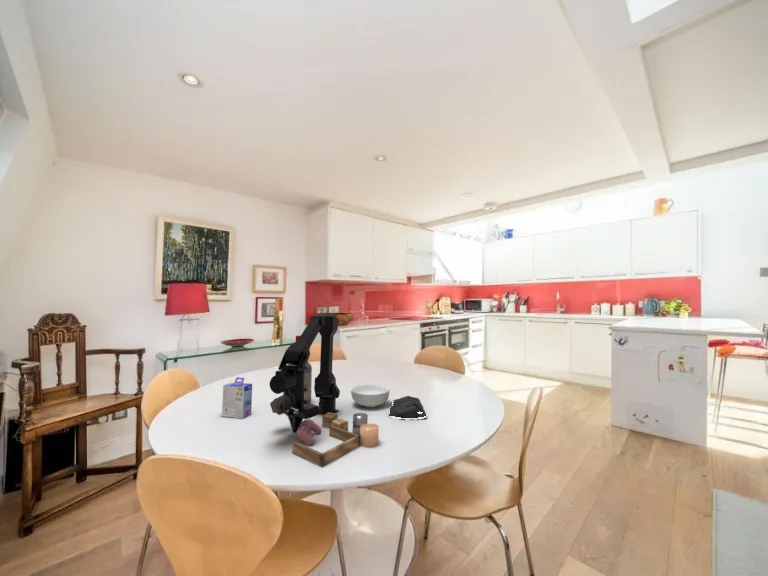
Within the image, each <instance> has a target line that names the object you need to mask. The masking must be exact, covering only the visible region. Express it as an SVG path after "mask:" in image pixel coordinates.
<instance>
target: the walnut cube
mask: <svg viewBox="0 0 768 576" xmlns="http://www.w3.org/2000/svg"><path fill="white" fill-rule="evenodd" d="M338 415H339V414H338V413H337V412H335V413H330V412H328V413H326V414H325V415H323V414H322V423H321V424H322V425H321V427H322V428H325V429H326V428H327V429H329V427H330V426H332V421H333V420H336V419H339V417H338Z"/></svg>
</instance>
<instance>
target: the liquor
mask: <svg viewBox="0 0 768 576" xmlns="http://www.w3.org/2000/svg"><path fill="white" fill-rule="evenodd" d="M300 336H301V335H295V342H297V341H298V339H299V338H300ZM292 366H297V365H292ZM305 366H307V368H308V369H307V370H305V384H304V387H305V388H307V391H305V392H304V399H305V400H307V403H306V404H304V405H309V404H312V381H313V380H312V376H313V374H312V373H313V372H312V371H313V370H312V369H313V367H312V365H311V363H310V362H309V360H308V361H307V363H306V364H305Z"/></svg>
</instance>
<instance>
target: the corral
mask: <svg viewBox="0 0 768 576" xmlns="http://www.w3.org/2000/svg"><path fill="white" fill-rule="evenodd" d="M328 429H329V431H328V432H329V433H328V435H329V437H332V438H334V439H338V440H340V441H343V442H341V443H339V444H337V445H336V446H333V447H332V448H330V449H328V450H326V451H324V452H321V451H318V450H316V449H313V448H311V447H310V446H306V445H304V444H302V443H299V442H298V441H293V442H291V446H292V447H291V453H292V454H293V455H296V456H298V457H300V458H302V459H304V460H306V461H308V462H311V463H313V464H314V465H317V466H319V467H321V468H322V467H324V466H326V465H328V464H330V463H332V462H334V461H335V460H337V459H338V458H340V457H342V456H343V455H344V456H345V455H346V454H348V453H350V452H351V451H352V450H355V449H357V448H358V447H360V446H361V445H360V443H361V435H358V434H355V433H352V432H351V431H349V430H348V431H346V430H343V429H340V428H337V427H334V426H330V427H329V428H328Z"/></svg>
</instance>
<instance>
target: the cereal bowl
mask: <svg viewBox="0 0 768 576" xmlns="http://www.w3.org/2000/svg"><path fill="white" fill-rule="evenodd" d="M350 393H351V394H350V395H351V398H352V400H353V401H354V402H355V403H356V404H358V405H361V406H362V407H363V406H366V407H365V408H369V407H370V408H374V407H373V406H377V405H379V406H380V405H383V404H384V403H386V402H387V400H388V399H389V397H390V388H389V387H388V386H386V385H383V384H378V383H361V384H357V385H355V386H352V387H351V389H350ZM377 407H378V406H377Z"/></svg>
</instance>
